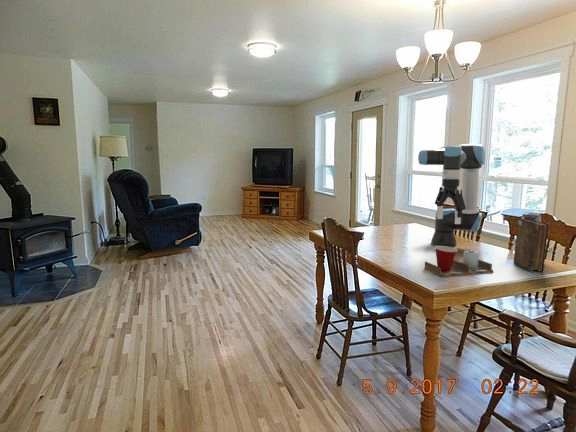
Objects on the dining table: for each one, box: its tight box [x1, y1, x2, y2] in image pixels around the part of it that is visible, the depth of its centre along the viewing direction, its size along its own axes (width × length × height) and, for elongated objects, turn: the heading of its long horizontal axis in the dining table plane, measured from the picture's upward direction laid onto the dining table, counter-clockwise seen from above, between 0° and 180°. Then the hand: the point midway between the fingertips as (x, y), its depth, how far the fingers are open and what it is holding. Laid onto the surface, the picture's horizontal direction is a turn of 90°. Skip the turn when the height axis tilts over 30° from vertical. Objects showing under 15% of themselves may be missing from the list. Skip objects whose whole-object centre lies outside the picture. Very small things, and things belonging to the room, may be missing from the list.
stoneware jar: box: [462, 248, 480, 271], centre depth 191 cm, size 7×7×10 cm
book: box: [513, 218, 550, 273], centre depth 191 cm, size 17×7×25 cm, turn 177°
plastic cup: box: [434, 245, 459, 273], centre depth 188 cm, size 11×11×12 cm
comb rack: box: [424, 258, 494, 278], centre depth 189 cm, size 30×13×4 cm, turn 103°
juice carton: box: [520, 210, 542, 222], centre depth 208 cm, size 9×10×27 cm
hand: (448, 221), depth 185 cm, fingers open, 13 cm apart
